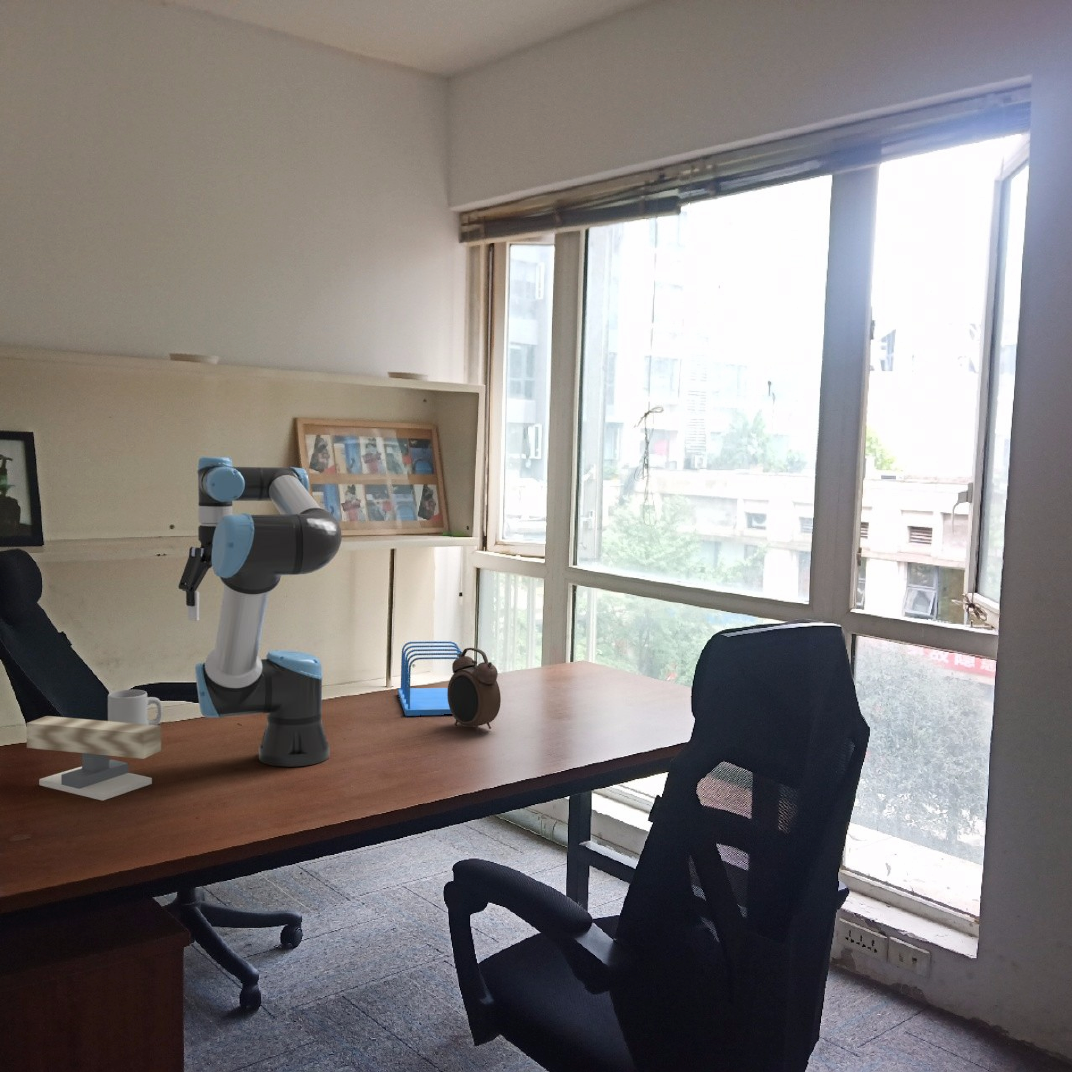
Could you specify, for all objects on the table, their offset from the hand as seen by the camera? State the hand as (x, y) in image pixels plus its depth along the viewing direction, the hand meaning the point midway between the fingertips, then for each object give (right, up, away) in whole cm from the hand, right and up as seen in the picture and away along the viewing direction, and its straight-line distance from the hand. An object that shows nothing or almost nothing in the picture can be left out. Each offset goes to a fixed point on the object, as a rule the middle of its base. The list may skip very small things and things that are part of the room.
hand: (215, 616), depth 243 cm
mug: (-19, -29, 0) cm, 34 cm away
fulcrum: (-14, -31, -32) cm, 47 cm away
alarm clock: (+58, -29, +16) cm, 67 cm away
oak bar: (-14, -24, -33) cm, 43 cm away
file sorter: (+46, -27, +40) cm, 67 cm away
